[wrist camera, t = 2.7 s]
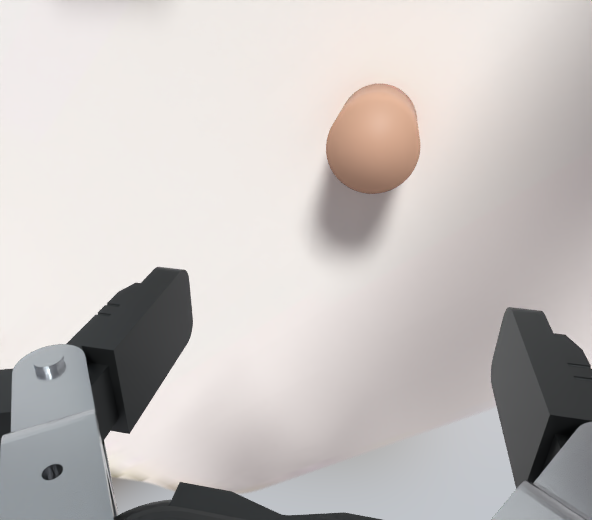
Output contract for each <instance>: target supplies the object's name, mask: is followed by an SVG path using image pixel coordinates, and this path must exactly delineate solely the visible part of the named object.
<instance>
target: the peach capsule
mask: <svg viewBox="0 0 592 520" xmlns="http://www.w3.org/2000/svg"><path fill="white" fill-rule="evenodd" d="M326 154H327V159H328V163H329V165H330V168H331V170H332V171H333V173H334V174H335V176H336V177H337V178H338V179H339V180H340V181H341V182H342V183H343V184H344V185H346V186H347V187H349V188H351V189H353V190H355V191H358V192H362V193H368V194H375V193H382V192H386V191H389V190H392V189H394V188H396V187H397V186H399V185H400V184H402V183H403V182H404V181H405V180H406V179H407V178H408V177H409V176H410V175H411V173H412V172H413V170H414V168H415V166H416V164H417V161H418V159H419V154H420V138H419V131H418V123H417V115H416V111H415V108H414V105H413V103H412V101H411V100H410V99H409V97H408V96H407V95H406V94H405V93H404V92H403V91H401V90H400V89H398V88H396V87H394V86H391V85H387V84H372V85H368V86H365V87H363V88H361V89H359V90H358V91H356V92H355V93H354V94H353V95H352V96H351V97H350V98H349V99H348V101H347V102H346V103H345V105H344V107H343V108H342V110H341V112H340V113H339V115H338V117H337V118H336V120H335V122H334V123H333V125H332V127H331V129H330V131H329V134H328V138H327V144H326Z"/></svg>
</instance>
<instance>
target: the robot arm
mask: <svg viewBox="0 0 592 520" xmlns="http://www.w3.org/2000/svg"><path fill="white" fill-rule="evenodd" d="M192 326H193V317H192V306H191V296H190V285H189V276H188V273H187V271H186V270H181V269H172V268H164V267H157V268H155V269H154V270H153V271H152V272H151V273H150V274H149V275H148V276H147V277H146V278H145V279H144V280H143V282H142V283H134V284H133V285H131V286H129V287H127V288H125V289H123V290H121V291H119V292H118V293H117V294H116V295H115V296H114V297H113V298H112V299H111V300H110V301H109V302H108V303H107V305H105V306H104V307H103V308H102V309H101V310H100V311H99V312H98V315H95V316H94V317H93V318H92V319H91V320H90V321H89V322H88V323H87V324H86V325H85V326H84V327H83V328H82V329H81V330H80V331H79V332H78V333H77V334H76V335H75V336H74V337H73V338H72V339H71V340H70V341H69V342H68V343H67V344H58V345H51V346H47V347H43V348H40V349H37V350H35V351H33V352H31V353H29V354H28V355H26V356H25V357H23V358H22V359H21V360H20V361H19V362H18V363H17V364H16V365H15V367H14V369H4V370H0V520H381V519H376V518H371V517H365V516H360V515H354V514H349V513H329V514H309V515H291V516H288V515H281V514H278V513H276V512H274V511H272V510H270V509H268V508H265V507H264V506H261V505H259V504H257V503H255V502H252V501H250V500H248V499H246V498H244V497H242V496H240V495H238V494H236V493H233V492H231V491H225V490H220V489H215V488H209V487H204V486H198V485H193V484H188V483H182V482H180V483H179V485H178V487H177V489H176V492H175V494H174V496H173V498H172V500H164V501H158V502H153V503H149V504H145V505H142V506H138V507H136V508H133V509H131V510H128V511H126V512H124V513H122V514H120V515H118V510H117V505H116V501H115V495H114V489H113V484H112V479H111V473H110V468H109V463H108V458H107V452H106V447H105V443H104V439H105V438H106V436H107V435H108V433H109V432H110V430H111V431H116V432H122V433H128V434H130V432H131V430H132V429H133V427H134V426H135V424H136V423H137V421H138V420H139V418H140V416H141V415H142V413H143V412H144V410H145V409H146V407H147V406H148V404H149V402H150V401H151V399H152V398H153V396H154V395H155V393H156V391H157V390H158V388H159V387H160V385H161V384H162V382H163V381H164V379H165V377H166V376H167V374H168V373H169V371H170V370H171V368H172V367H173V365H174V363H175V362H176V360H177V359H178V357H179V356H180V354H181V353H182V351H183V349H184V348H185V346H186V345H187V343H188V341H189V339H190V336H191V332H192ZM590 367H591V365H590V364H589V362H588V360H587V358H586V356H585V354H584V352H583V350H582V349H581V348H580V347H578V346H577V345H576V344H575V343H574V342H573V341H572V340H571V339H569V338H568V337H567V336H566V335H562V334H554V333H553V331H552V329H551V327H550V325H549V323H548V321H547V318H546V316H545V314H544V313H543V312H542V311H537V310H528V309H519V308H511V307H509V308H507V309H506V311H505V314H504V317H503V321H502V325H501V328H500V332H499V336H498V340H497V344H496V348H495V352H494V356H493V360H492V367H491V383H492V388H493V392H494V397H495V401H496V405H497V409H498V413H499V418H500V422H501V426H502V430H503V434H504V439H505V443H506V447H507V451H508V455H509V459H510V464H511V468H512V472H513V477H514V481H515V485H516V490H515V491H514V493H513V494H512V495H511V496H510V498H509V499H508V500H507V501H506V502H505V503H504V505H503V506H502V507H501V508H500V509H499V511H498V512H497V513H496V514H495V516H494V517H493V518H492V519H491V520H592V369H591V368H590Z"/></svg>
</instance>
